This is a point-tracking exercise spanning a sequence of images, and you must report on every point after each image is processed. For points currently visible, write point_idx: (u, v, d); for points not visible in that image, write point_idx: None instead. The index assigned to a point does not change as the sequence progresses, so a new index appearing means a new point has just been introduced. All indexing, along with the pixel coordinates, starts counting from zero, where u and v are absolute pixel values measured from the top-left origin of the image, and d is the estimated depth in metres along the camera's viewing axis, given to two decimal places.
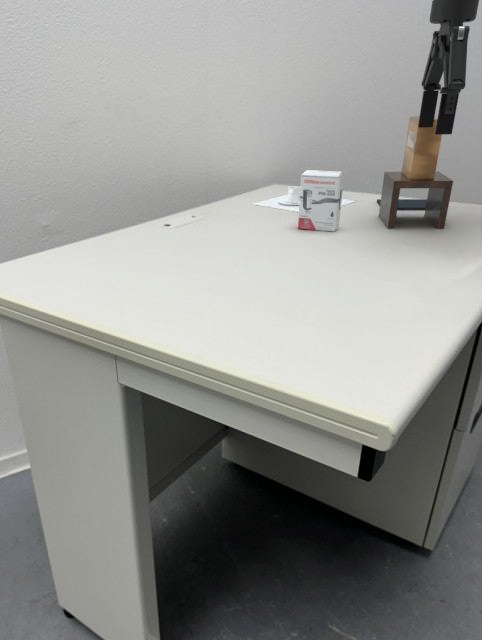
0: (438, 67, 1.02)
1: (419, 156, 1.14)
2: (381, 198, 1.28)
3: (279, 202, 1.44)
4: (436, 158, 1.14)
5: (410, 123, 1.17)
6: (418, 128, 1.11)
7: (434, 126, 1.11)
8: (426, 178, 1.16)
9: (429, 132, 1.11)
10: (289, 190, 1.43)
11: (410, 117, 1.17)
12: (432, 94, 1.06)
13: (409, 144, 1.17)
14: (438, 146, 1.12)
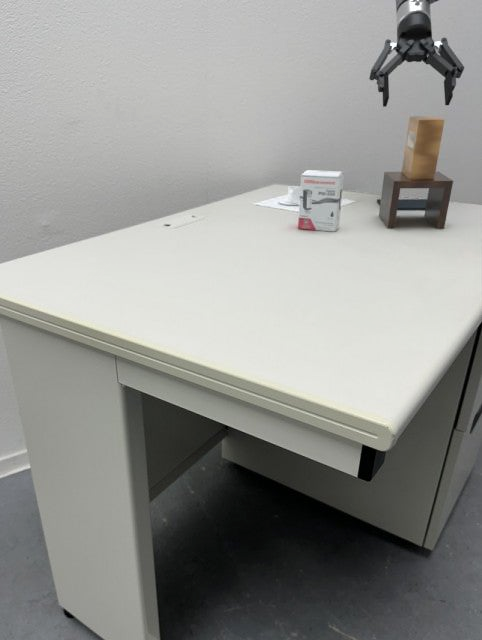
0: (396, 64, 1.25)
1: (419, 156, 1.14)
2: (381, 198, 1.28)
3: (279, 202, 1.44)
4: (436, 158, 1.14)
5: (410, 123, 1.17)
6: (418, 128, 1.11)
7: (434, 126, 1.11)
8: (426, 178, 1.16)
9: (429, 132, 1.11)
10: (289, 190, 1.43)
11: (410, 117, 1.17)
12: None
13: (409, 144, 1.17)
14: (438, 146, 1.12)
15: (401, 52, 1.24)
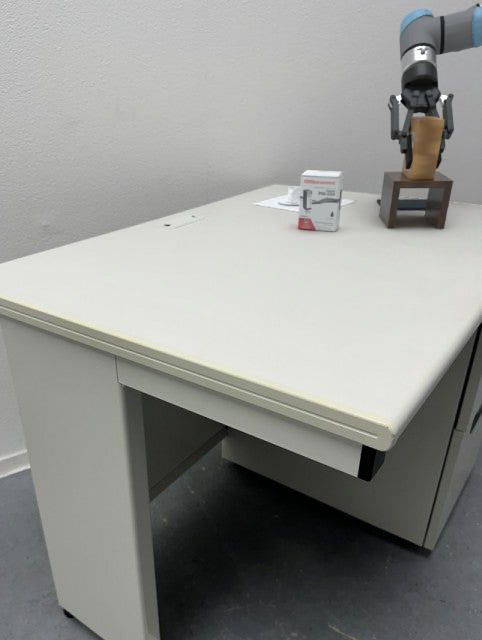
0: None
1: (419, 156, 1.14)
2: (381, 198, 1.28)
3: (279, 202, 1.44)
4: (436, 158, 1.14)
5: None
6: (418, 128, 1.11)
7: (434, 126, 1.11)
8: (426, 178, 1.16)
9: (429, 132, 1.11)
10: (289, 190, 1.43)
11: None
12: None
13: None
14: (438, 146, 1.12)
15: (412, 106, 1.17)
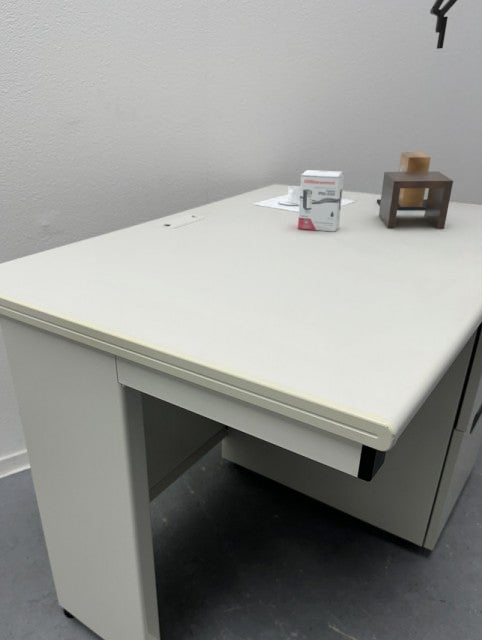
0: None
1: None
2: (381, 198, 1.28)
3: (279, 202, 1.44)
4: (424, 189, 1.32)
5: (402, 158, 1.36)
6: (408, 164, 1.30)
7: (422, 162, 1.30)
8: (416, 206, 1.35)
9: (417, 167, 1.30)
10: (289, 190, 1.43)
11: (402, 153, 1.36)
12: None
13: None
14: None
15: None
